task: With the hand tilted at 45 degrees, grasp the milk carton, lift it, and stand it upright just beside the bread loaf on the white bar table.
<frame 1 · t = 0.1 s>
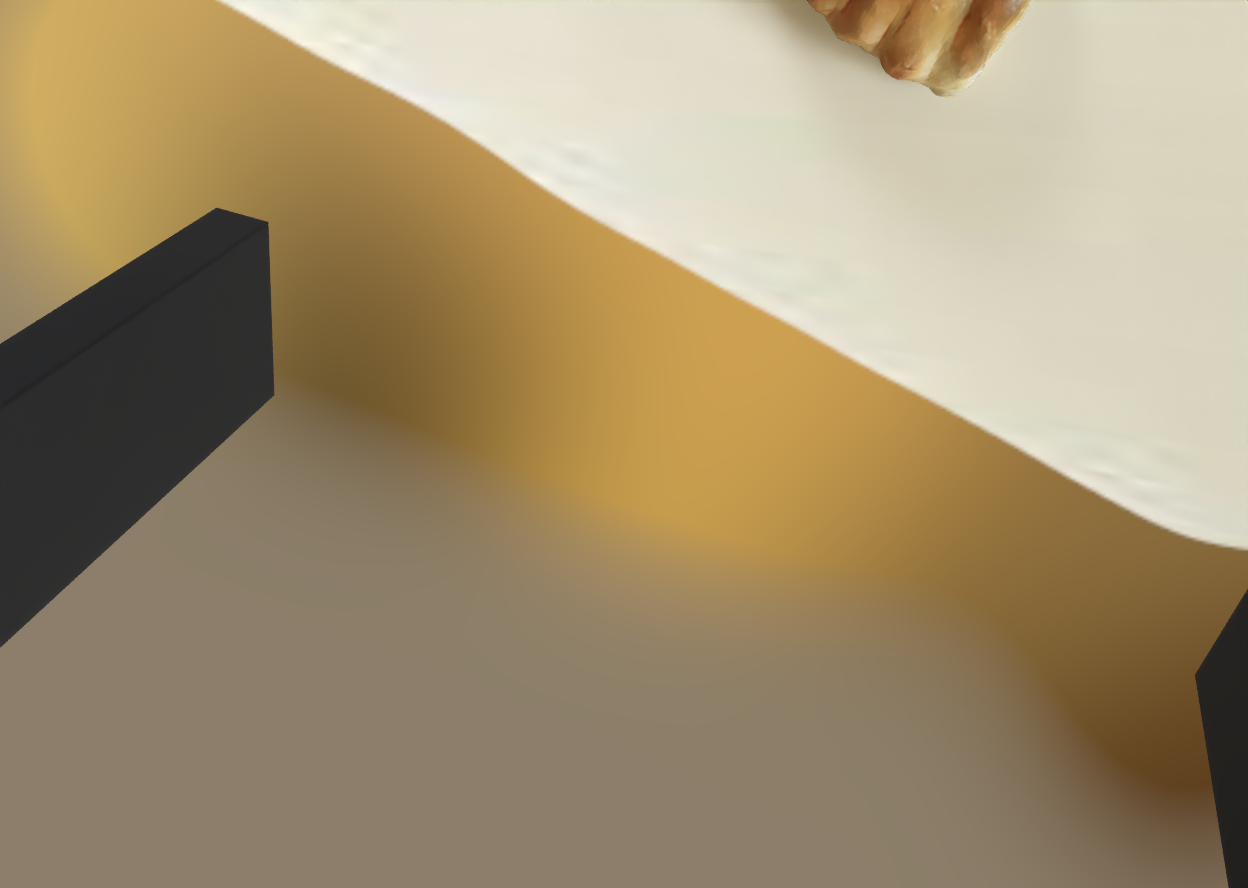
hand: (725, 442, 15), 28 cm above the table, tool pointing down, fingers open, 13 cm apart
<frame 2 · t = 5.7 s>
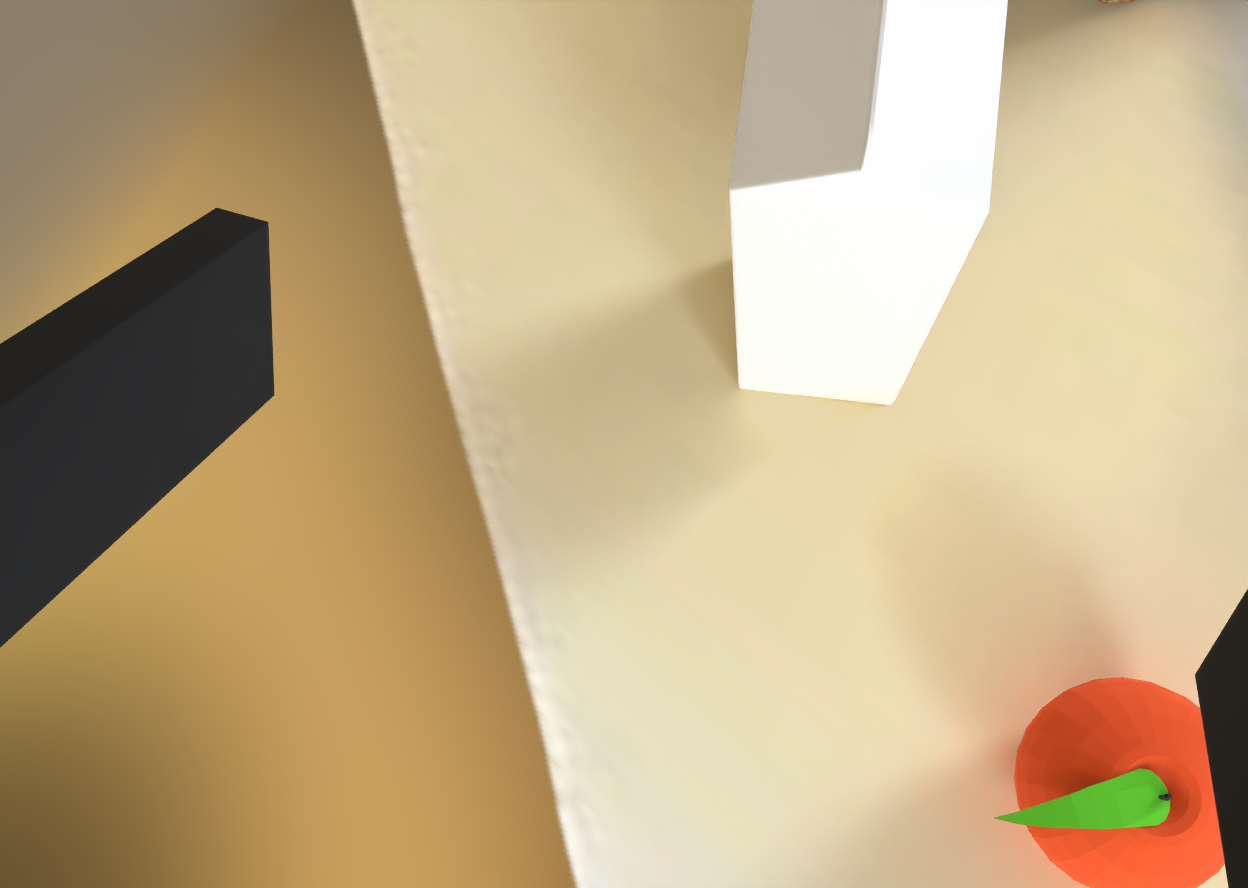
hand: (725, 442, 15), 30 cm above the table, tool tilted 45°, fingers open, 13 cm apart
clementine: (1079, 780, 41), on the table
milk: (822, 325, 46), on the table
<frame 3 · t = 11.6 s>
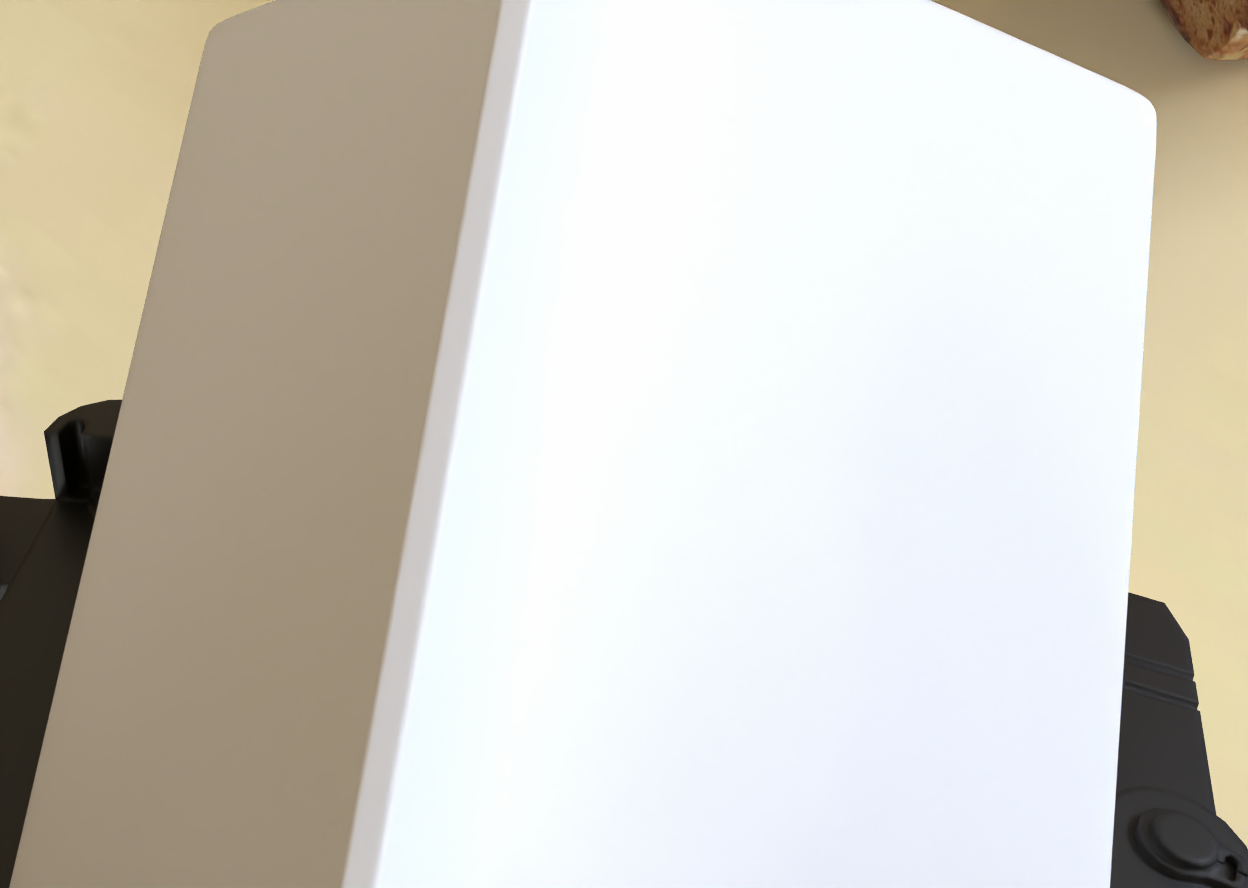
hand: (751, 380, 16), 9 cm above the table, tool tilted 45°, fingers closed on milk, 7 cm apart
milk: (703, 646, 25), on the table, touching gripper
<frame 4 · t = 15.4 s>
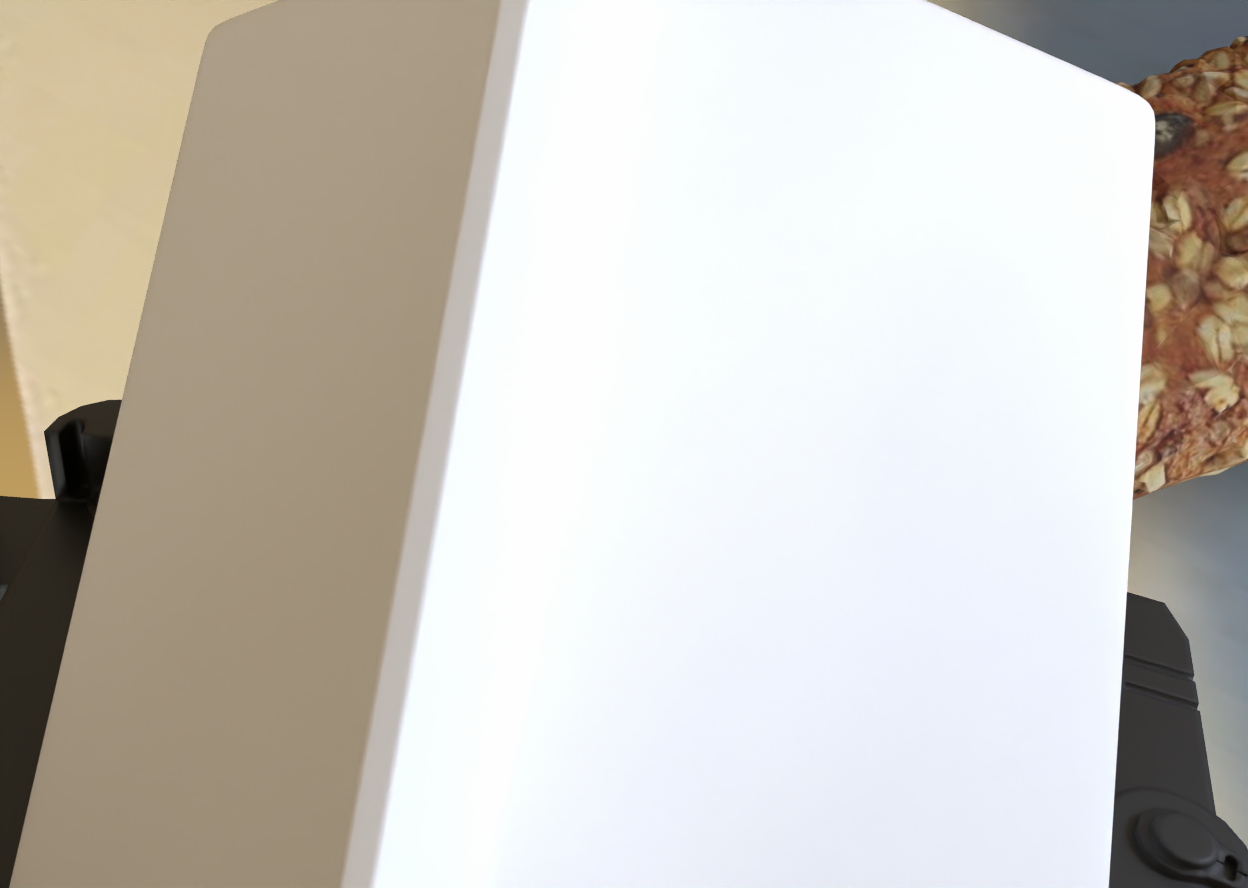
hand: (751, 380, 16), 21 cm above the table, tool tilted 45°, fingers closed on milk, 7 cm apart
bread: (1171, 321, 37), on the table
milk: (703, 647, 25), point 12 cm above the table, touching gripper
when the fingers open (9 cm above the table, at t = 19.5 s): milk stays where it is, on the table.
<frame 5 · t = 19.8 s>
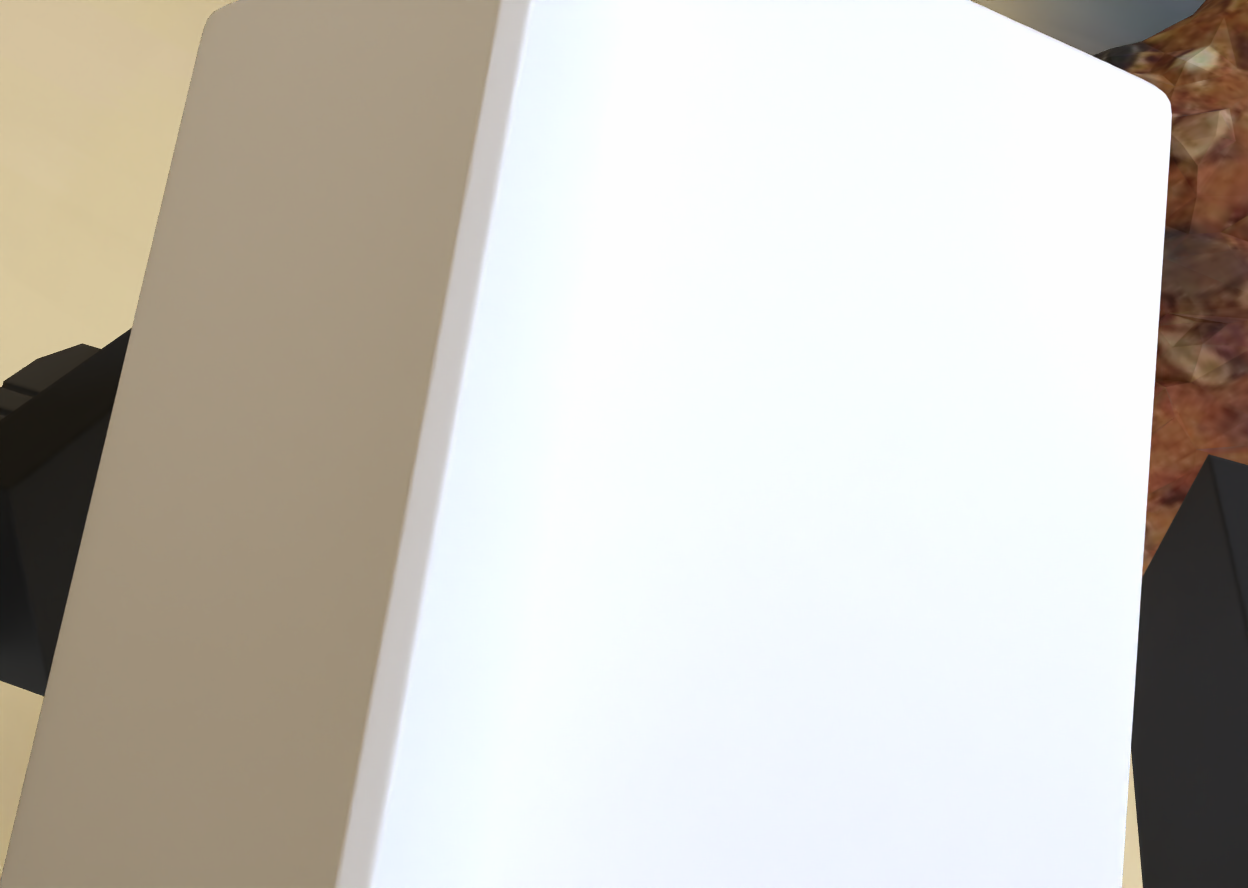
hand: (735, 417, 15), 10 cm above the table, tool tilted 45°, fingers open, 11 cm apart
milk: (703, 646, 25), on the table
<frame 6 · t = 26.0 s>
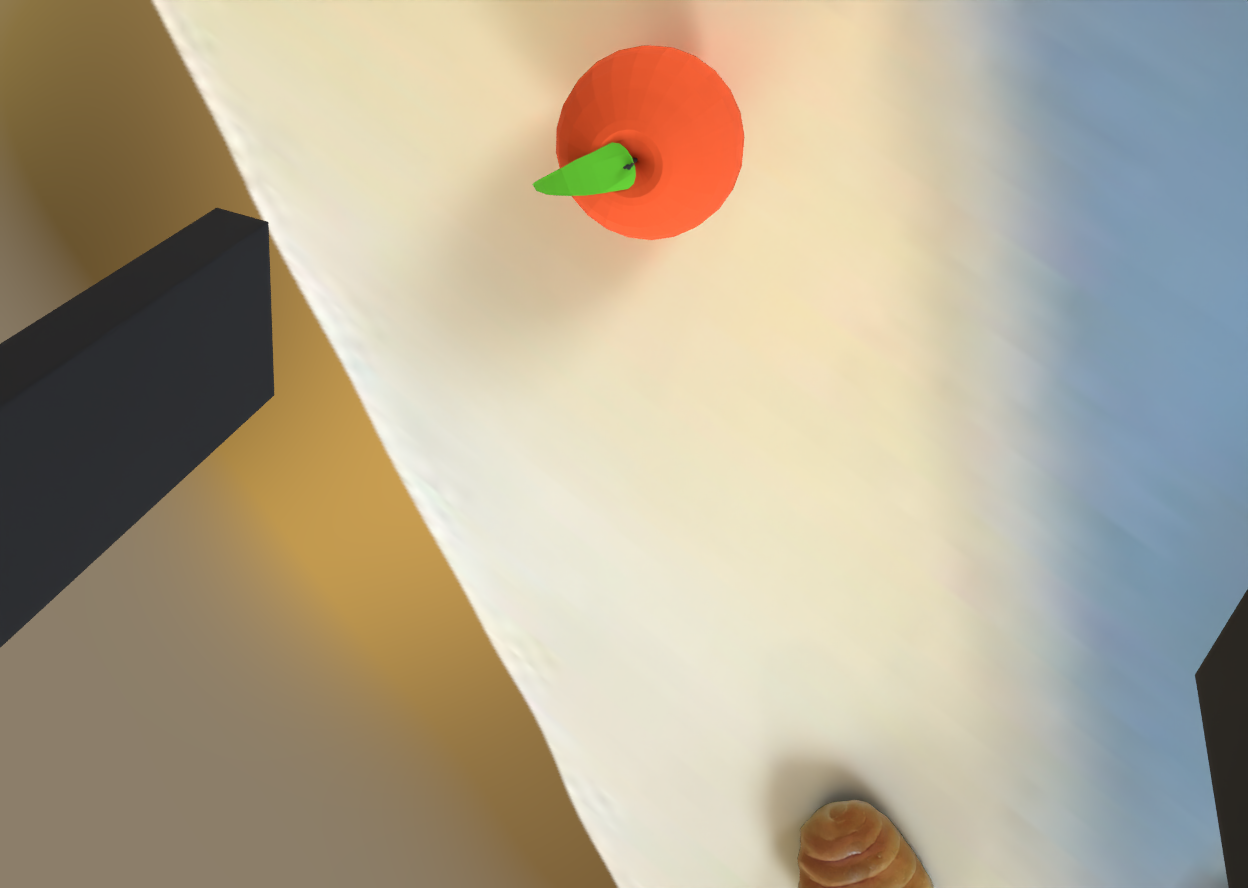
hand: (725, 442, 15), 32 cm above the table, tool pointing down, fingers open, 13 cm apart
clementine: (657, 128, 46), on the table
pastry: (863, 869, 60), on the table
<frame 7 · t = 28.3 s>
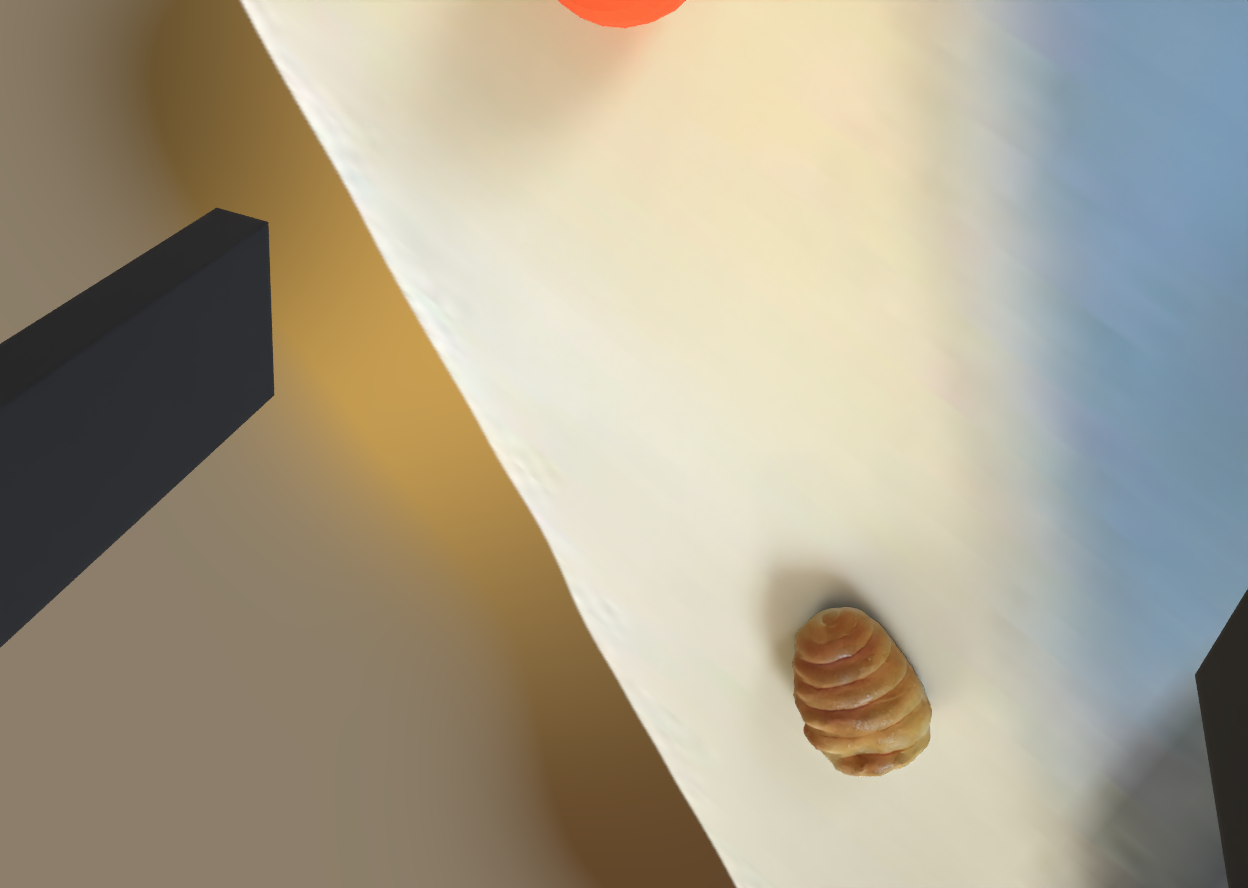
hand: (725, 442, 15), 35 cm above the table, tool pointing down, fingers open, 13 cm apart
pastry: (858, 675, 62), on the table
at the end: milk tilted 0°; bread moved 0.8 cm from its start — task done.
